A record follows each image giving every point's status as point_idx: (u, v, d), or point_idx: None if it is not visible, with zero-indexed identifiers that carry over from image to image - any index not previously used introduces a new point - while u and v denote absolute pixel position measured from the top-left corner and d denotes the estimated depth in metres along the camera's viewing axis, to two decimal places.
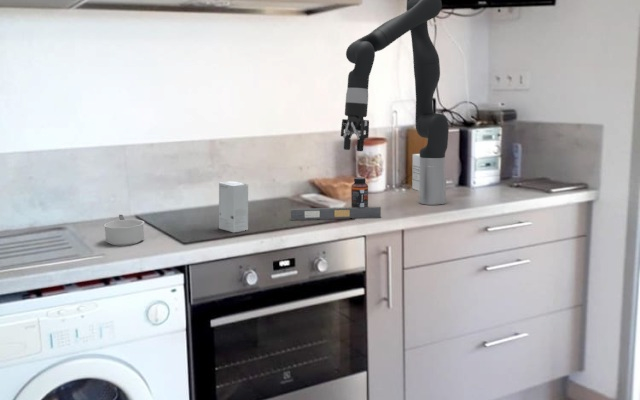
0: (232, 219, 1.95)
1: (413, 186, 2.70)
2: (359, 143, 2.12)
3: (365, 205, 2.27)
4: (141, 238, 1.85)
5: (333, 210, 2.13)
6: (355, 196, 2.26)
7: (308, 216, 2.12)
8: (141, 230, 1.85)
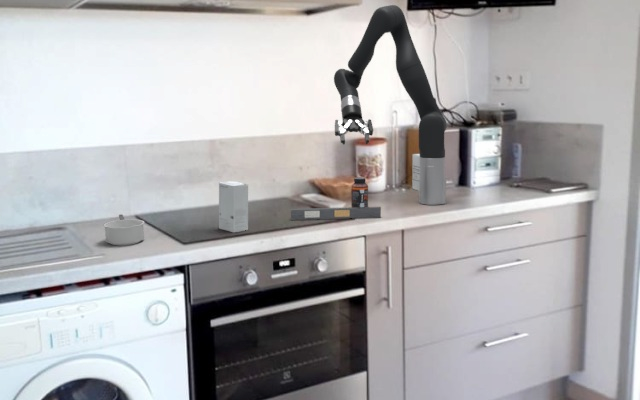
0: (232, 219, 1.95)
1: (413, 186, 2.70)
2: None
3: (365, 205, 2.27)
4: (141, 238, 1.85)
5: (333, 210, 2.13)
6: (355, 196, 2.26)
7: (308, 216, 2.12)
8: (141, 230, 1.85)
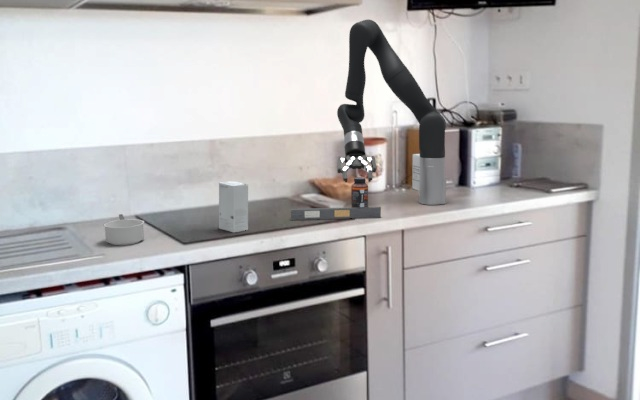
0: (232, 219, 1.95)
1: (413, 186, 2.70)
2: None
3: (365, 205, 2.27)
4: (141, 238, 1.85)
5: (333, 210, 2.13)
6: (355, 196, 2.26)
7: (308, 216, 2.12)
8: (141, 230, 1.85)
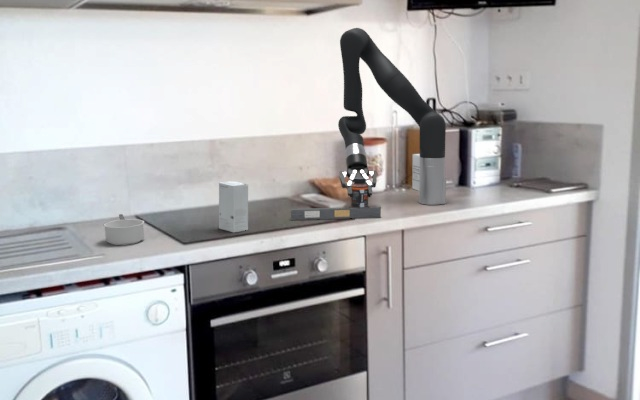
0: (232, 219, 1.95)
1: (413, 186, 2.70)
2: None
3: (365, 205, 2.27)
4: (141, 238, 1.85)
5: (333, 210, 2.13)
6: (355, 195, 2.26)
7: (308, 216, 2.12)
8: (141, 230, 1.85)
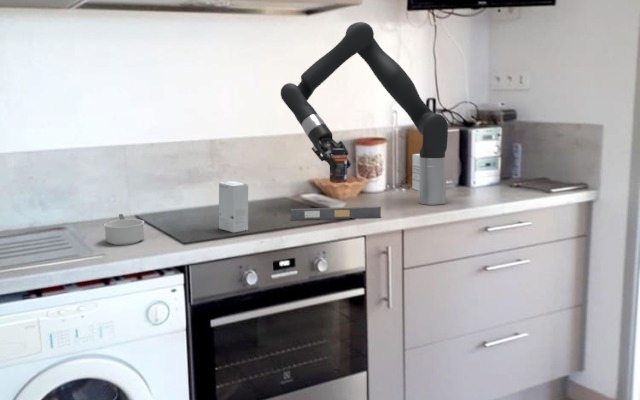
0: (232, 219, 1.95)
1: (413, 186, 2.70)
2: None
3: (346, 176, 2.17)
4: (141, 237, 1.85)
5: (333, 210, 2.13)
6: (339, 167, 2.14)
7: (308, 216, 2.12)
8: (141, 230, 1.85)
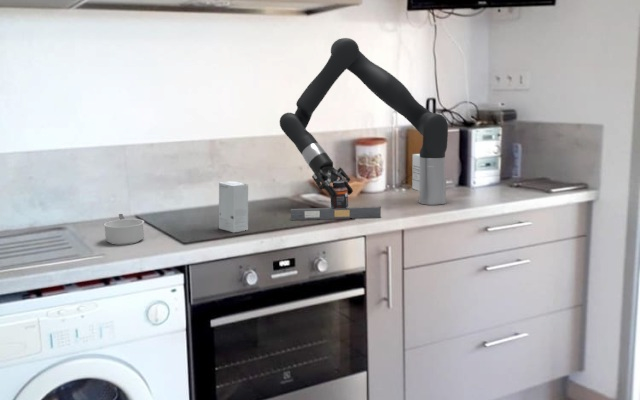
0: (232, 219, 1.95)
1: (413, 186, 2.70)
2: None
3: None
4: (141, 237, 1.86)
5: (333, 210, 2.13)
6: (340, 200, 2.15)
7: (308, 216, 2.12)
8: (141, 229, 1.85)
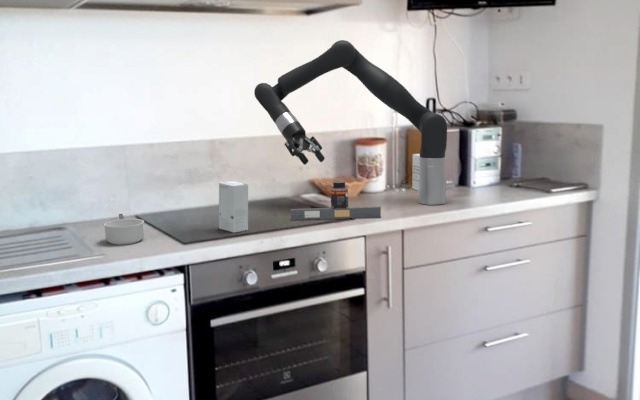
0: (232, 219, 1.95)
1: (413, 186, 2.70)
2: None
3: None
4: (141, 237, 1.86)
5: (333, 210, 2.13)
6: (341, 200, 2.15)
7: (308, 216, 2.12)
8: (141, 229, 1.86)
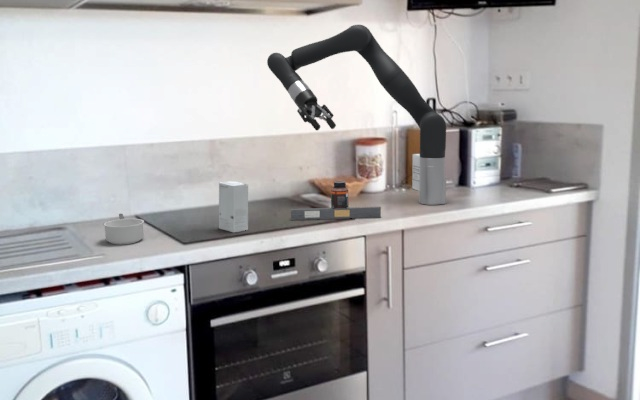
0: (232, 219, 1.95)
1: (413, 186, 2.70)
2: (312, 125, 2.28)
3: None
4: (141, 237, 1.86)
5: (333, 210, 2.13)
6: (341, 200, 2.15)
7: (308, 216, 2.12)
8: (141, 229, 1.86)
